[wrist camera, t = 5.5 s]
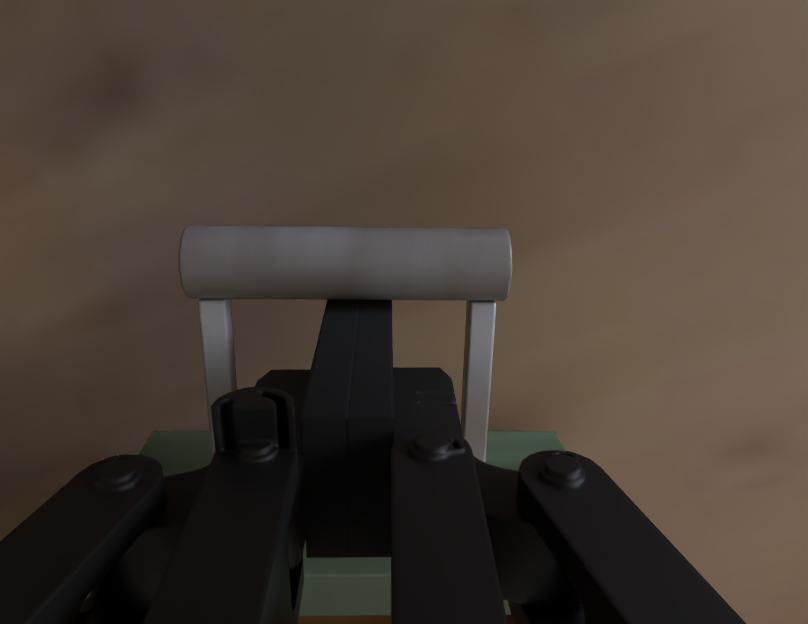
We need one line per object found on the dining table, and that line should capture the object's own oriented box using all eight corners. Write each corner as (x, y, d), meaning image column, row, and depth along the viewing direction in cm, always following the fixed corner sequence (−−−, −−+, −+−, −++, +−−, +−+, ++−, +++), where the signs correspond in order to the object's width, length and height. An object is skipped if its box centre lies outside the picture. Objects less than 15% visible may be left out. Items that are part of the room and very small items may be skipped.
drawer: (122, 190, 18) (0, 254, 13) (581, 196, 19) (672, 260, 13) (192, 748, 26) (135, 954, 20) (522, 743, 26) (563, 944, 20)
